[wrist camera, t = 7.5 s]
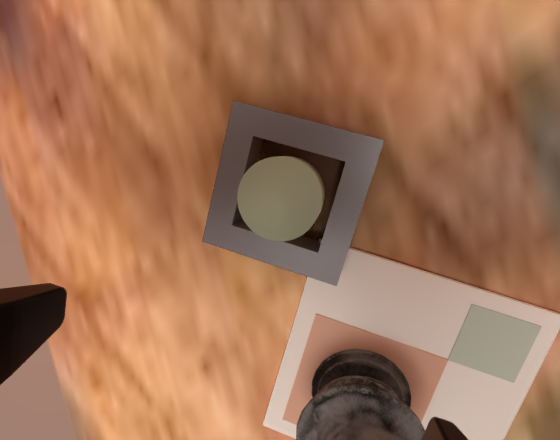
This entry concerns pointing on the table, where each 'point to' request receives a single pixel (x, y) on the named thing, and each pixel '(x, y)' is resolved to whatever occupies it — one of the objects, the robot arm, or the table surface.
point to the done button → (281, 197)
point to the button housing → (310, 137)
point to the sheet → (418, 343)
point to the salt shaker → (359, 401)
